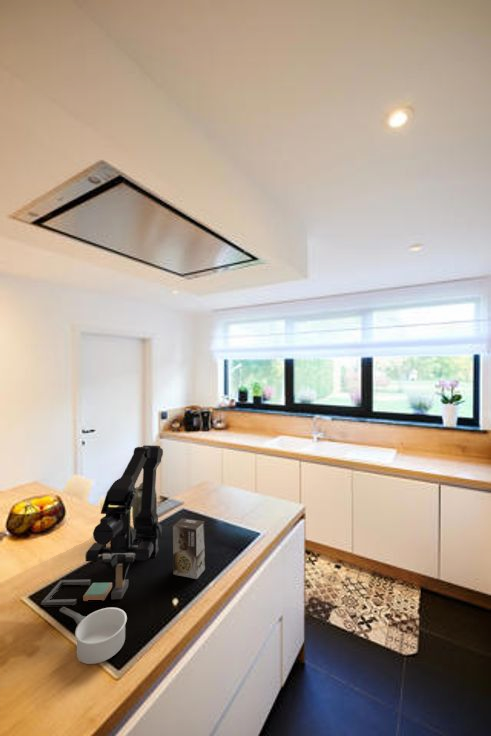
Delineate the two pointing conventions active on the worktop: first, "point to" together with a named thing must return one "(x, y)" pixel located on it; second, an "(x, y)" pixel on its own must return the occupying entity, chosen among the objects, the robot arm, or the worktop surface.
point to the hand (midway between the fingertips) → (120, 579)
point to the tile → (97, 591)
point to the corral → (64, 601)
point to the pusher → (119, 584)
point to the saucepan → (98, 633)
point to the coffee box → (188, 548)
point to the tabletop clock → (137, 502)
